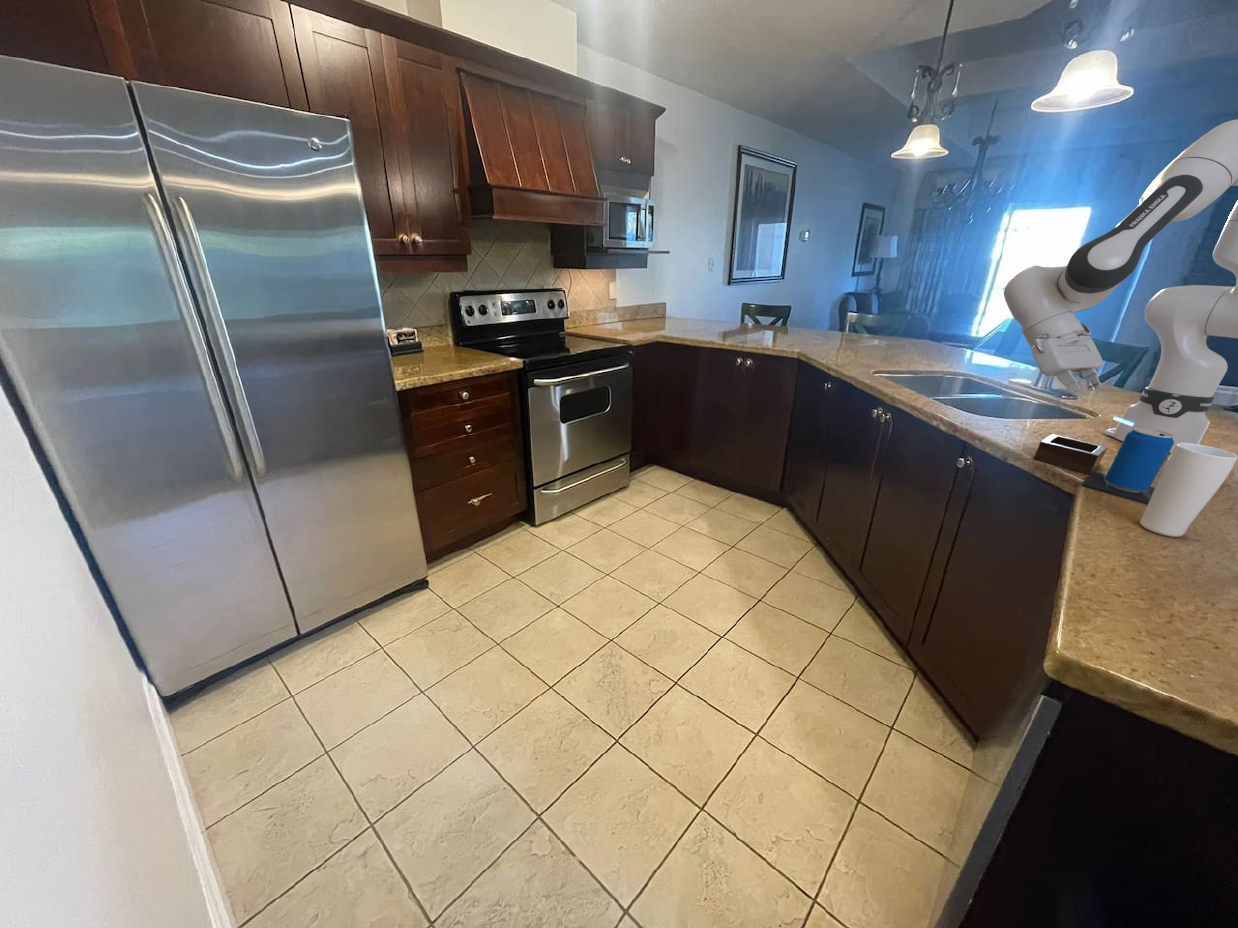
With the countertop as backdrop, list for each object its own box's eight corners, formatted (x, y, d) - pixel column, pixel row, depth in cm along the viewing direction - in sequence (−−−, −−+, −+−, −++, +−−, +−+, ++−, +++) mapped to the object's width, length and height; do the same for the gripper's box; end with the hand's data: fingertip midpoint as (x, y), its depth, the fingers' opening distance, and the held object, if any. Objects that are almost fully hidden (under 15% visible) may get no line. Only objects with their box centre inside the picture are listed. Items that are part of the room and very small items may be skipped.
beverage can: (1155, 496, 93) (1187, 439, 88) (1118, 492, 94) (1147, 435, 89) (1130, 482, 99) (1158, 428, 94) (1095, 478, 100) (1121, 425, 95)
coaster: (1093, 473, 104) (1094, 471, 104) (1165, 492, 96) (1166, 490, 96) (1082, 485, 98) (1083, 483, 97) (1157, 507, 90) (1159, 505, 90)
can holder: (1044, 450, 116) (1052, 433, 114) (1099, 464, 109) (1107, 446, 107) (1032, 459, 111) (1040, 441, 109) (1089, 474, 103) (1098, 455, 102)
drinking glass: (1124, 523, 83) (1167, 444, 77) (1143, 517, 86) (1186, 440, 80) (1177, 543, 77) (1228, 460, 71) (1196, 536, 80) (1247, 455, 74)
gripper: (1047, 325, 97) (1082, 384, 93) (1091, 327, 106) (1125, 381, 102) (1014, 343, 103) (1046, 399, 99) (1058, 343, 112) (1089, 395, 108)
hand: (1086, 390), depth 101 cm, fingers open, 8 cm apart
